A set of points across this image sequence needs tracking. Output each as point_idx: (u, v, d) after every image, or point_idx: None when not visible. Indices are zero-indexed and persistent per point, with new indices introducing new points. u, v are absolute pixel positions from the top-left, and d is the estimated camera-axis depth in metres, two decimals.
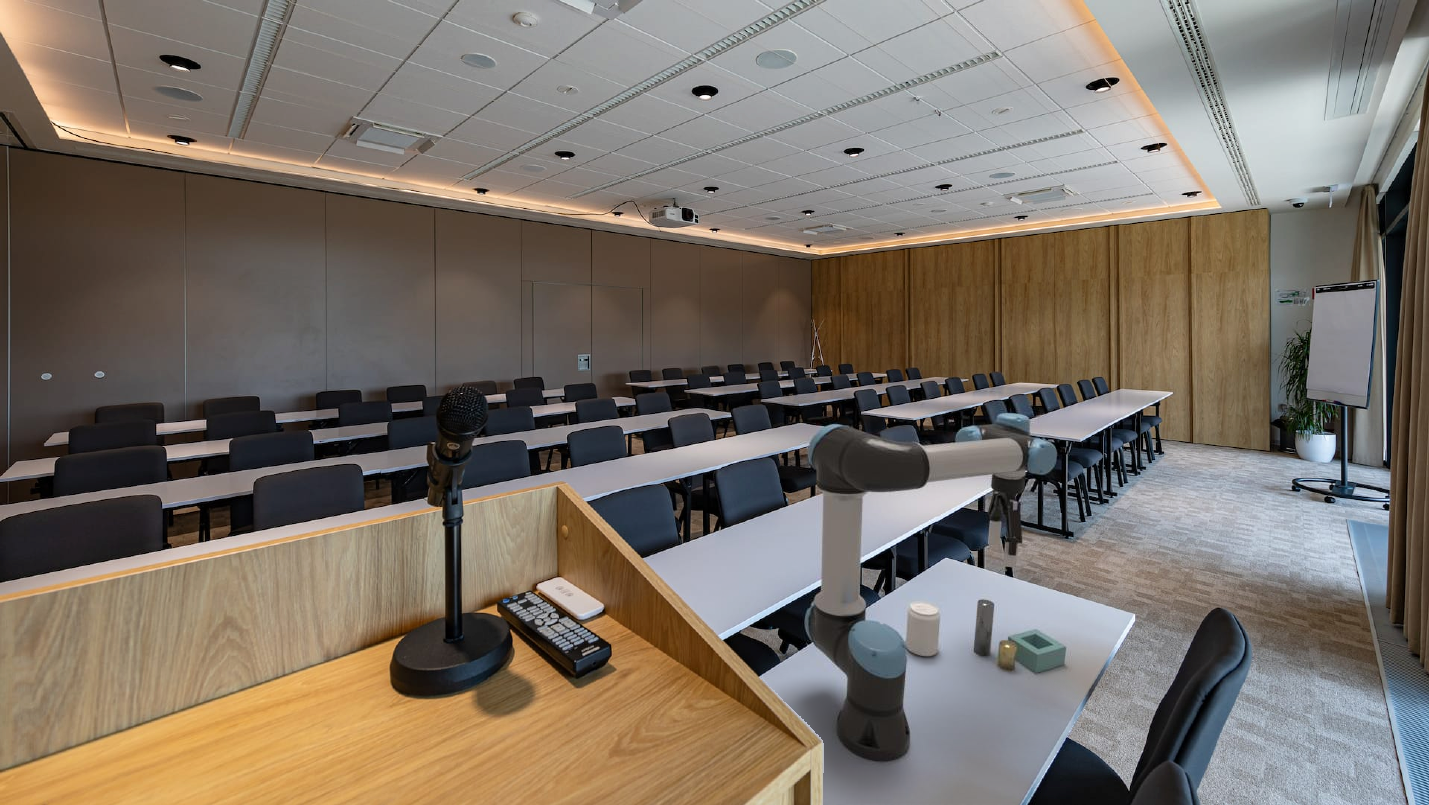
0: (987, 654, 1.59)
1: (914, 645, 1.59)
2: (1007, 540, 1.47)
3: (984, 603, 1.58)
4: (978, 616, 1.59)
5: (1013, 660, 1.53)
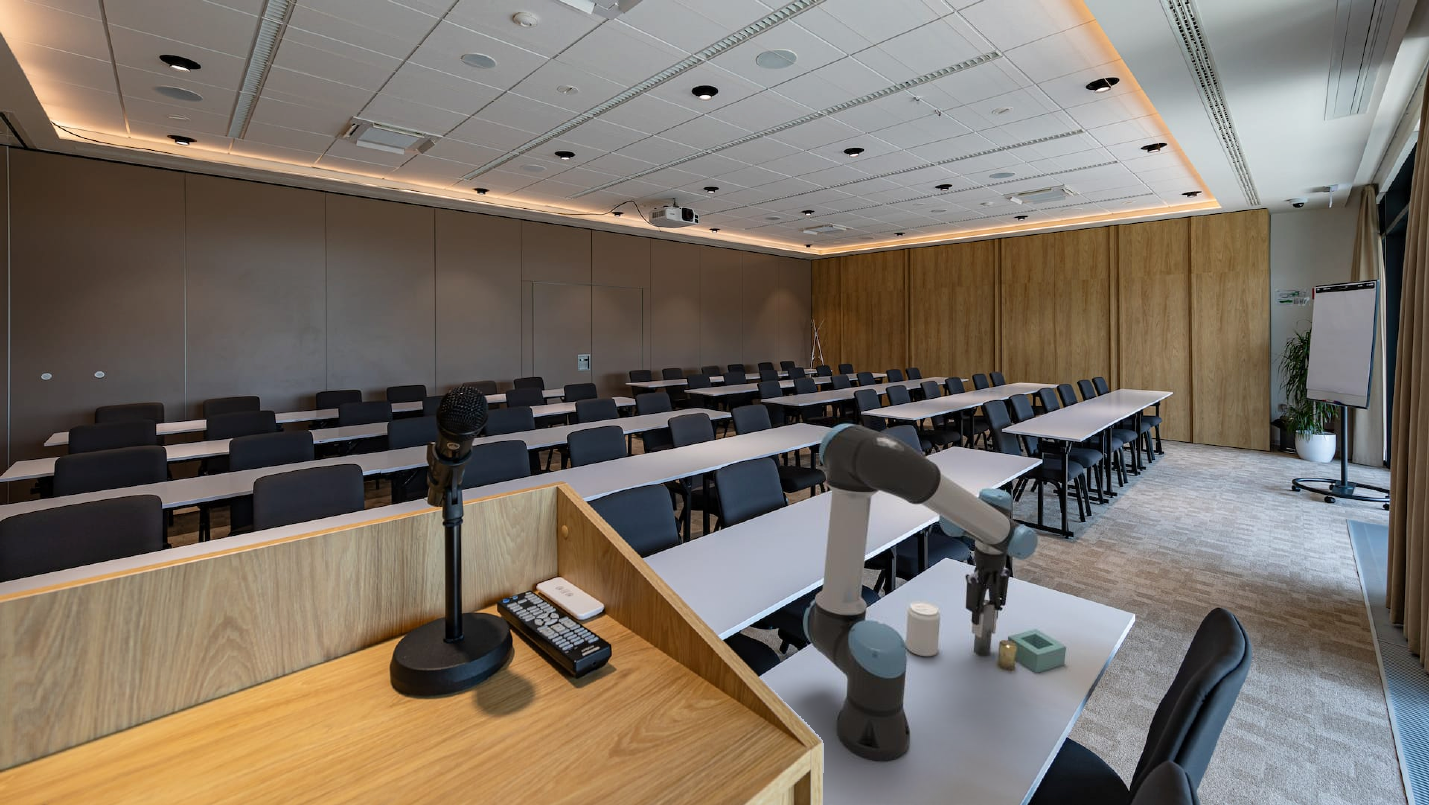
0: (987, 654, 1.59)
1: (914, 645, 1.59)
2: None
3: (984, 603, 1.58)
4: None
5: (1013, 660, 1.53)
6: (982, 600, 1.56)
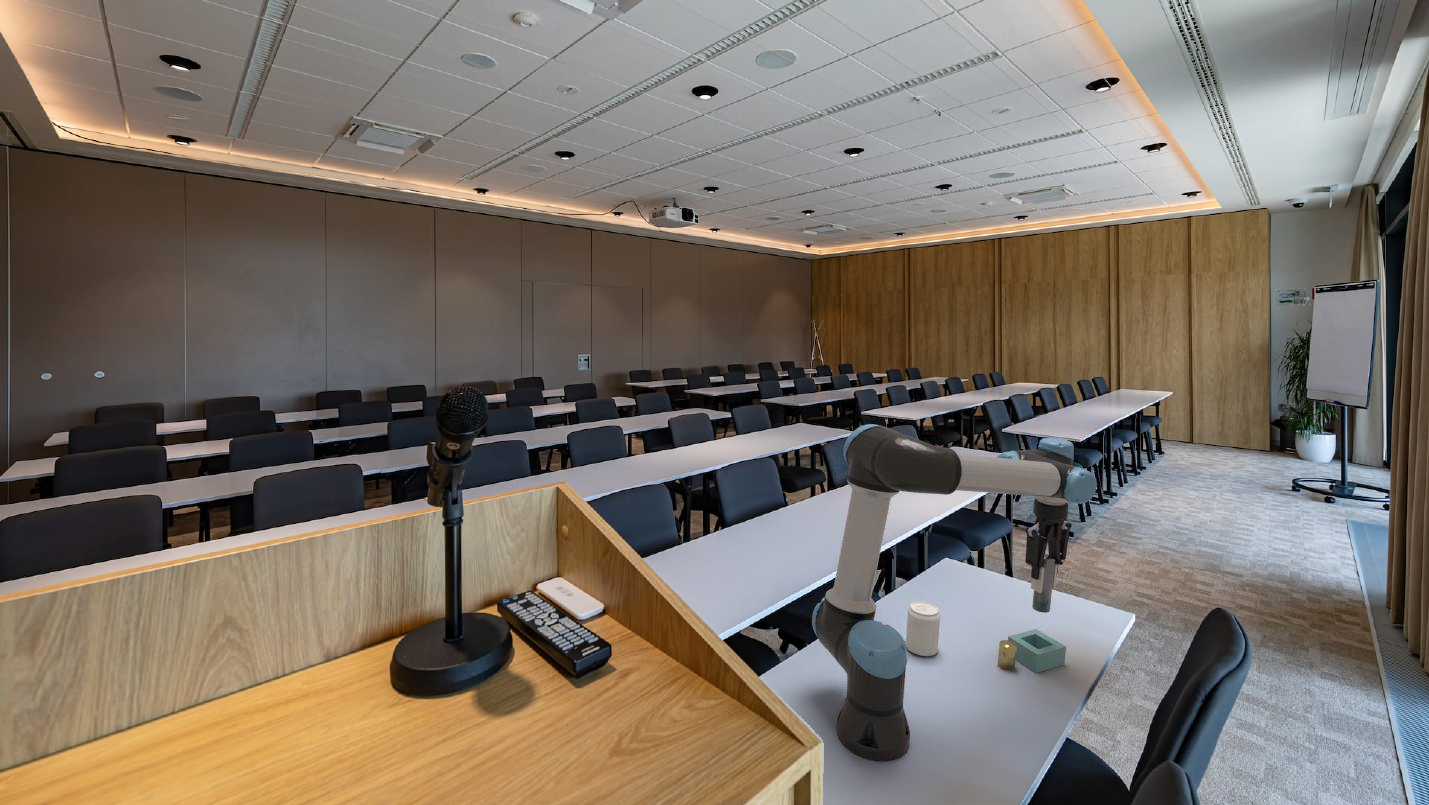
0: (1047, 610, 1.54)
1: (914, 645, 1.59)
2: None
3: (1044, 557, 1.53)
4: None
5: (1013, 660, 1.53)
6: (1043, 554, 1.51)
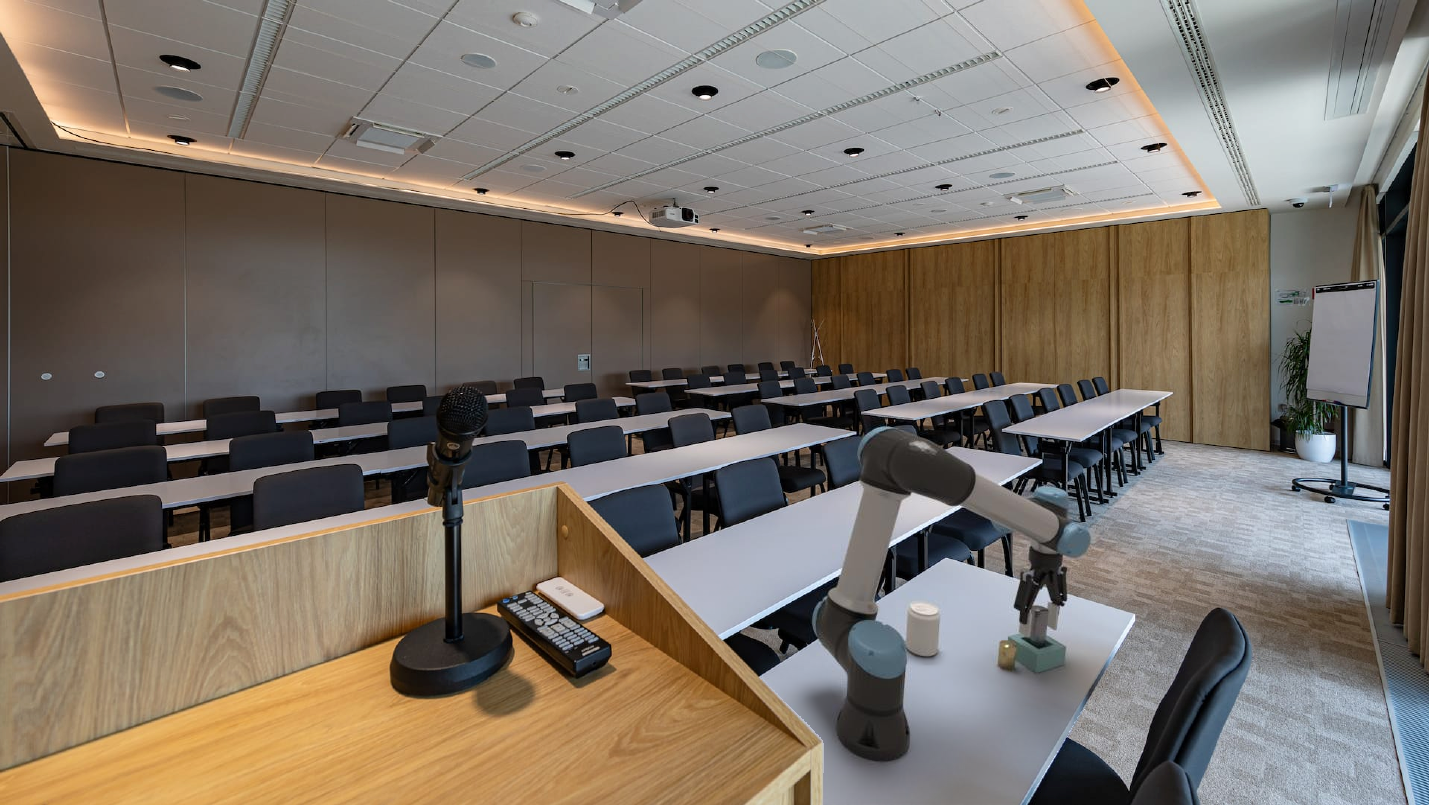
0: None
1: (914, 645, 1.59)
2: None
3: (1038, 609, 1.55)
4: (1032, 622, 1.56)
5: (1013, 660, 1.53)
6: (1033, 600, 1.52)
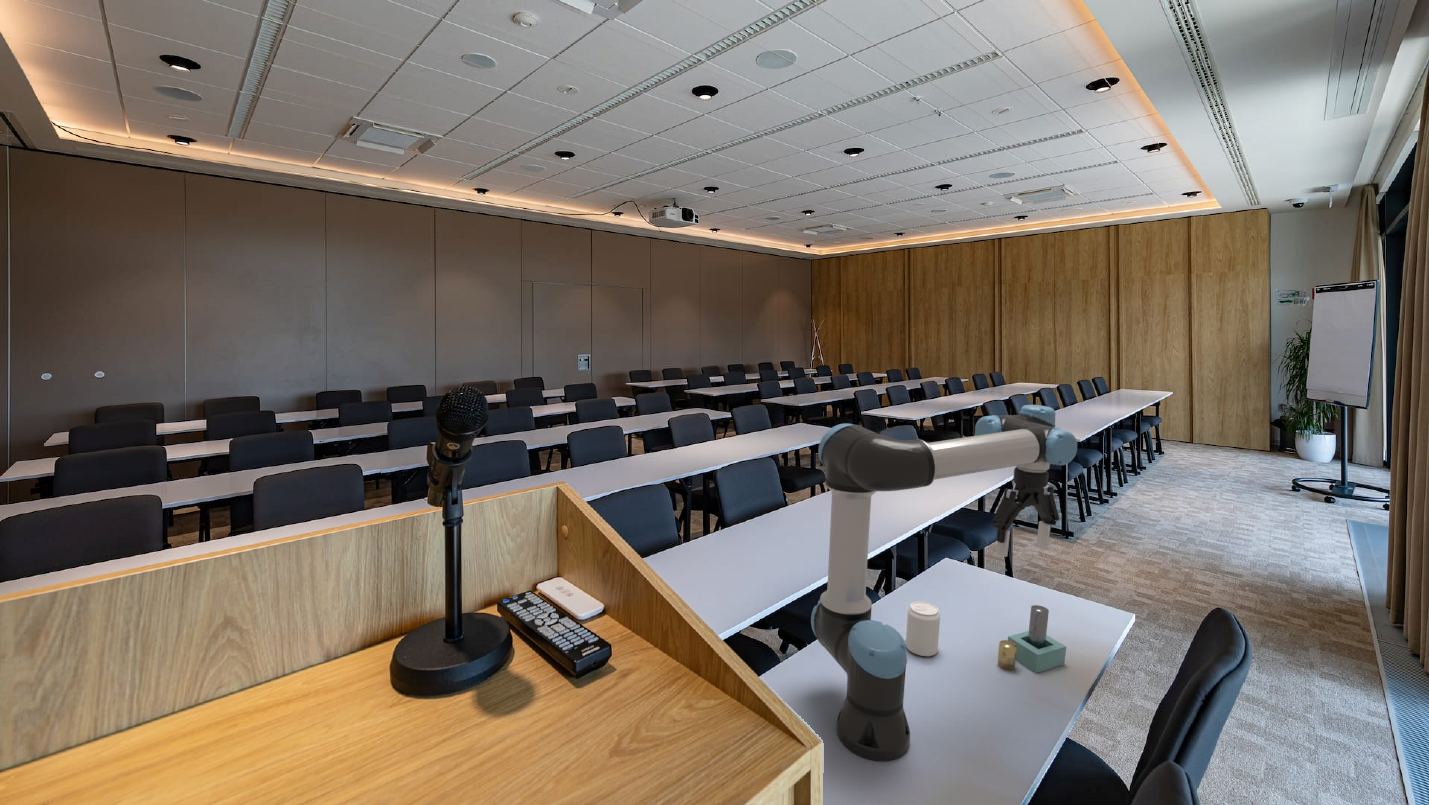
0: None
1: (914, 645, 1.59)
2: None
3: (1038, 609, 1.55)
4: (1032, 622, 1.56)
5: (1013, 660, 1.53)
6: (1013, 518, 1.47)
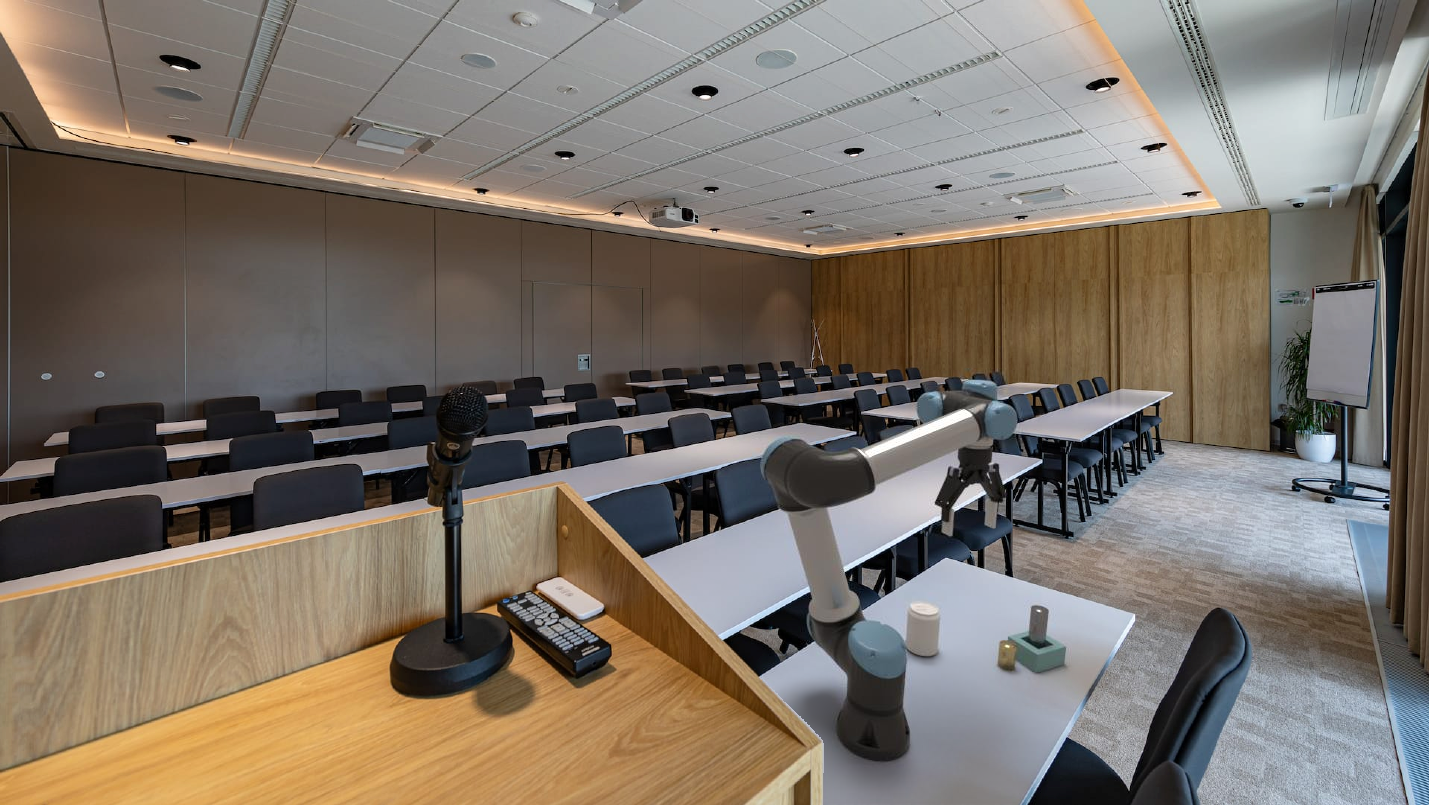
0: None
1: (914, 645, 1.59)
2: None
3: (1037, 609, 1.55)
4: (1032, 622, 1.56)
5: (1013, 660, 1.53)
6: (957, 496, 1.43)
